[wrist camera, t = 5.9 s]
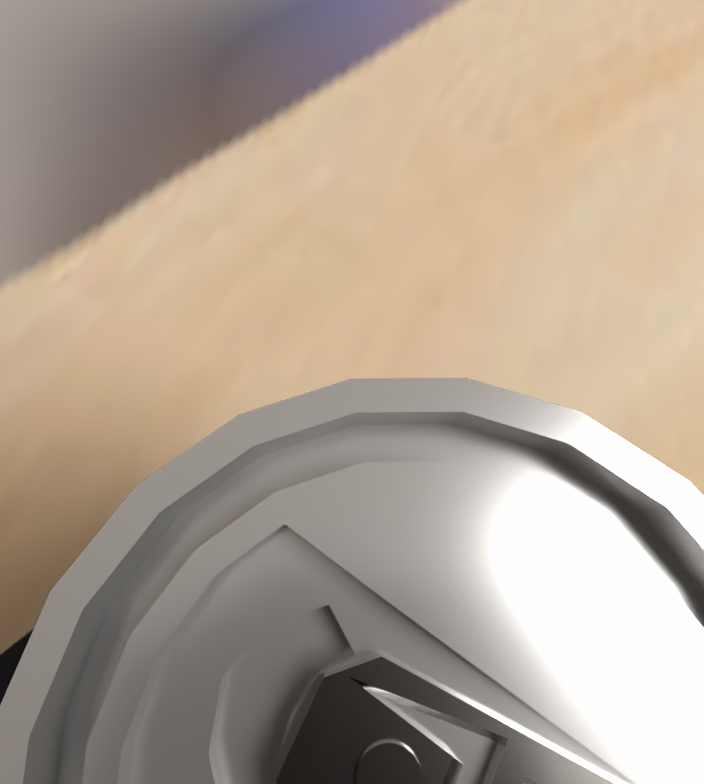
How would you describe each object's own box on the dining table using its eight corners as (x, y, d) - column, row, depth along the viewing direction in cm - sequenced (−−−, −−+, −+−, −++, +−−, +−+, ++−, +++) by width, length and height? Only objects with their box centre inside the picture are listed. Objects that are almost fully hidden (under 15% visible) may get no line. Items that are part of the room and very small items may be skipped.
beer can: (499, 546, 15) (1021, 574, 3) (418, 743, 13) (795, 1991, 2) (327, 459, 15) (240, 222, 4) (234, 639, 14) (-313, 1097, 3)
